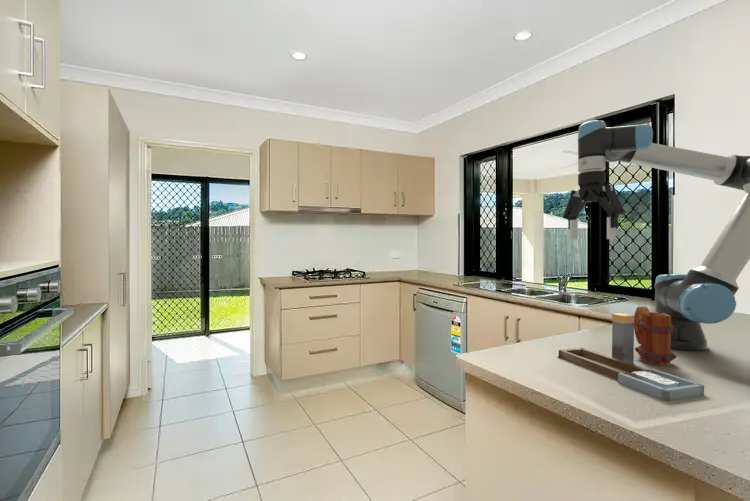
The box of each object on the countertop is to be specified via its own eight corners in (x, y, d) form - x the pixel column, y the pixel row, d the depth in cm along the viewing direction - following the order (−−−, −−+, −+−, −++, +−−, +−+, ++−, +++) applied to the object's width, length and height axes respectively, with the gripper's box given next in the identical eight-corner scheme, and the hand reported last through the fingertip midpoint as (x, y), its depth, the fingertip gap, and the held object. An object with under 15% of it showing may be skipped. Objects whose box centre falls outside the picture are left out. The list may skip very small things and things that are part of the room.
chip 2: (660, 387, 85) (660, 376, 85) (679, 394, 82) (679, 382, 81) (647, 389, 84) (647, 378, 84) (665, 396, 80) (665, 384, 80)
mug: (682, 371, 97) (683, 314, 97) (647, 369, 99) (648, 313, 98) (652, 355, 111) (653, 305, 111) (622, 353, 113) (623, 304, 113)
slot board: (584, 356, 110) (584, 347, 110) (651, 381, 91) (651, 369, 90) (556, 359, 107) (556, 350, 107) (619, 385, 88) (619, 373, 88)
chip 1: (644, 381, 89) (644, 370, 89) (660, 387, 85) (661, 376, 85) (631, 382, 88) (631, 372, 88) (647, 389, 84) (647, 378, 84)
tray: (653, 380, 91) (653, 368, 91) (704, 399, 80) (704, 385, 80) (618, 385, 88) (618, 373, 88) (666, 405, 77) (666, 391, 77)
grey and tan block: (621, 362, 104) (622, 313, 104) (633, 366, 101) (634, 315, 101) (611, 363, 103) (612, 313, 103) (623, 368, 100) (624, 316, 100)
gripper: (551, 178, 128) (551, 239, 129) (620, 163, 105) (620, 238, 105) (568, 179, 131) (568, 239, 131) (639, 164, 107) (639, 238, 107)
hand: (591, 239), depth 118 cm, fingers open, 13 cm apart
